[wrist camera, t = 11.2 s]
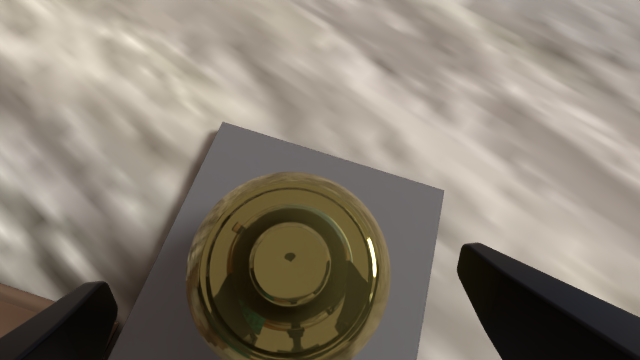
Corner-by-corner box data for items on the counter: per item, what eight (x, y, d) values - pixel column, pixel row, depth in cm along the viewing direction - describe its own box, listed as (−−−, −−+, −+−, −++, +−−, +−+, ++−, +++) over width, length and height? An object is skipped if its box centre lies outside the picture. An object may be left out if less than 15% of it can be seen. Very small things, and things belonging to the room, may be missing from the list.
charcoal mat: (390, 466, 14) (396, 479, 13) (111, 372, 15) (98, 378, 14) (436, 195, 19) (444, 190, 18) (226, 129, 19) (222, 121, 18)
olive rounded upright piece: (253, 190, 17) (203, 72, 8) (378, 233, 17) (485, 165, 7) (194, 327, 15) (11, 400, 5) (340, 380, 14) (427, 559, 5)
